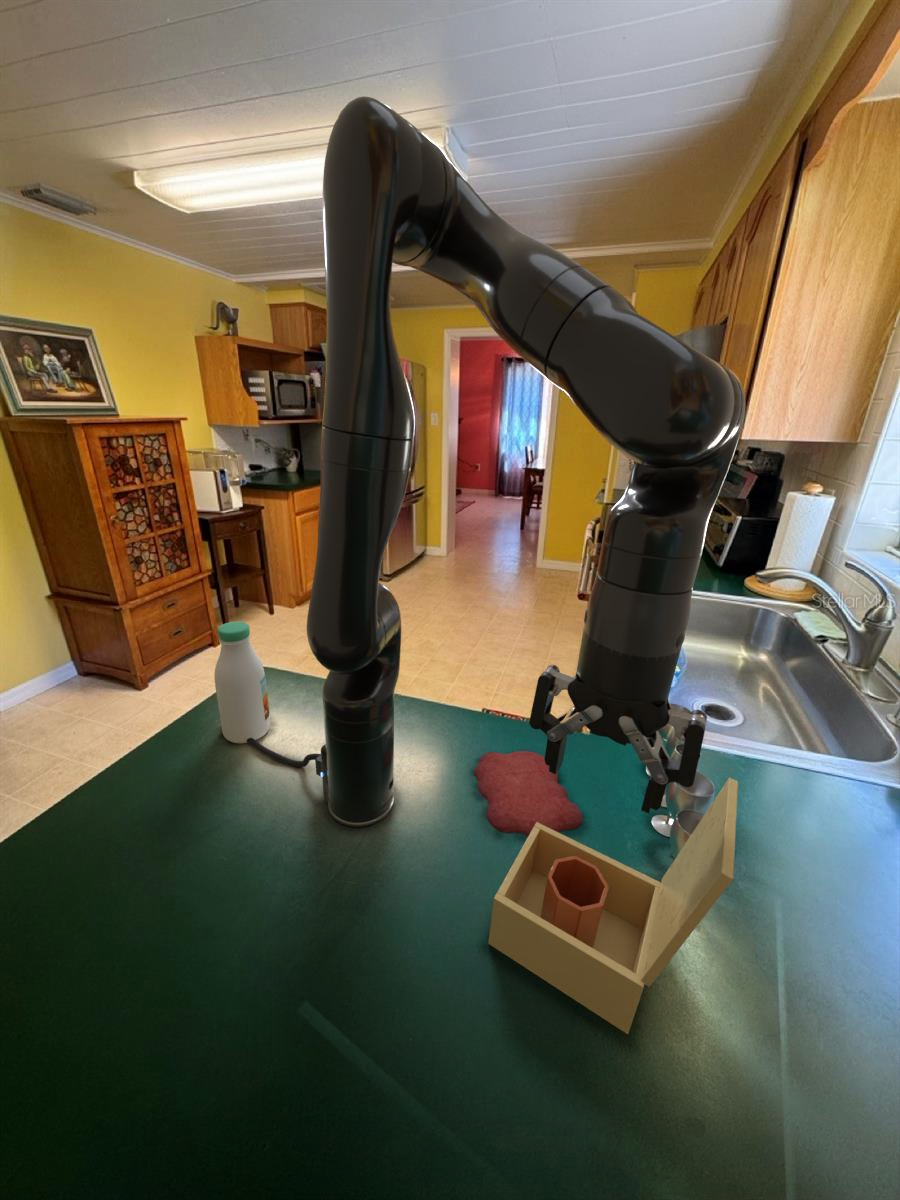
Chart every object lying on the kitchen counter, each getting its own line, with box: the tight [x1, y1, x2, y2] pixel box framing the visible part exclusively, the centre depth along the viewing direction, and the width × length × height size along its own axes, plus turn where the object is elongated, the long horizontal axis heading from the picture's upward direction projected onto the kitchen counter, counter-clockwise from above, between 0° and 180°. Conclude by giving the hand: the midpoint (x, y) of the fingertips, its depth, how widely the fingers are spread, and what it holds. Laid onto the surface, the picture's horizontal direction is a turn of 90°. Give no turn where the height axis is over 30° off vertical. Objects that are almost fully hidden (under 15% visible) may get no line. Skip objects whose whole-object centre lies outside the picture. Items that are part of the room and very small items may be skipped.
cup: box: [540, 856, 609, 948], centre depth 50 cm, size 6×6×8 cm
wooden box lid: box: [641, 777, 739, 988], centre depth 42 cm, size 16×12×1 cm
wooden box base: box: [488, 822, 661, 1035], centre depth 50 cm, size 15×12×8 cm
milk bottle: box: [214, 621, 271, 744], centre depth 78 cm, size 8×8×20 cm
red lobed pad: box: [473, 750, 584, 837], centre depth 71 cm, size 18×14×2 cm
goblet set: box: [645, 703, 716, 858], centre depth 65 cm, size 28×6×13 cm, turn 161°
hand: (598, 786), depth 44 cm, fingers open, 8 cm apart
